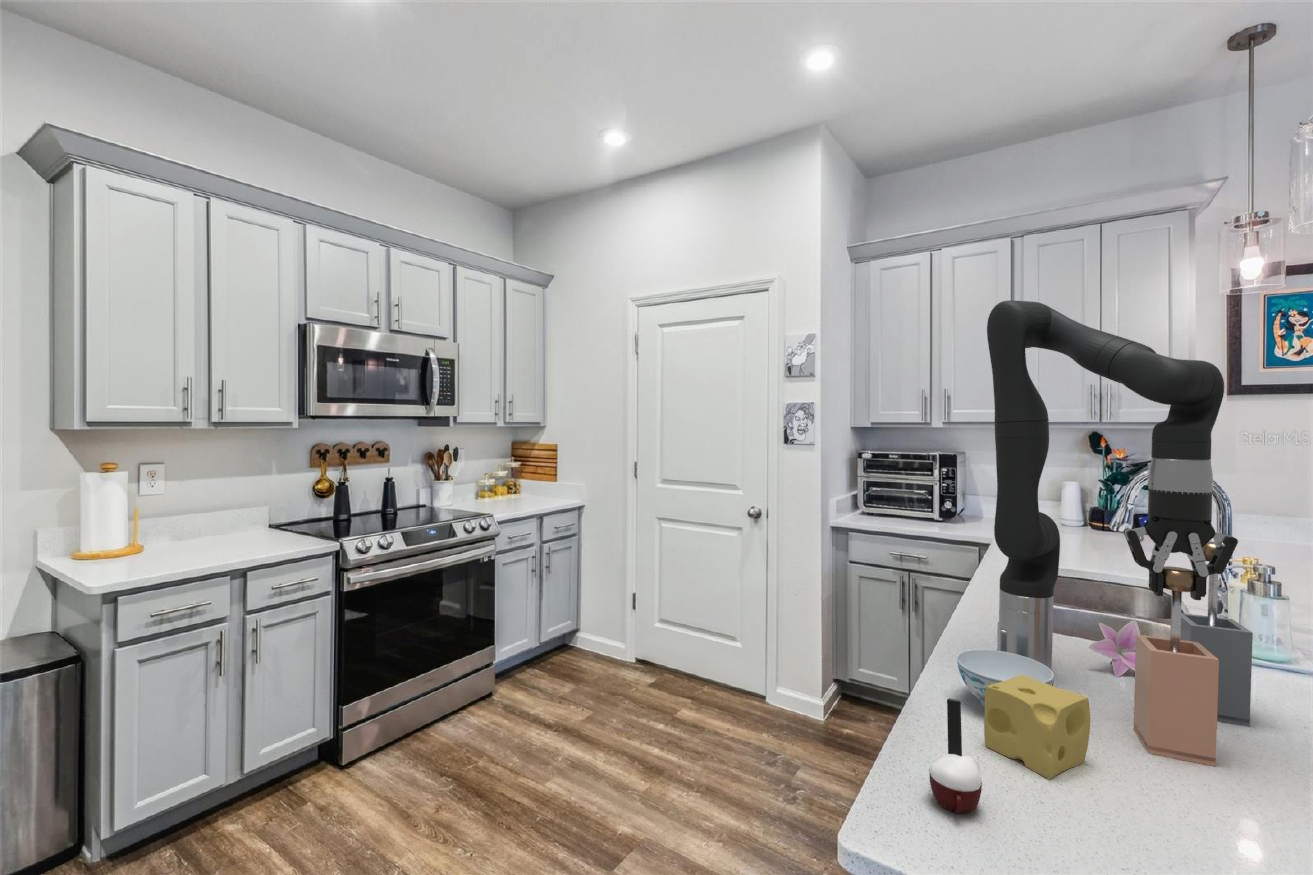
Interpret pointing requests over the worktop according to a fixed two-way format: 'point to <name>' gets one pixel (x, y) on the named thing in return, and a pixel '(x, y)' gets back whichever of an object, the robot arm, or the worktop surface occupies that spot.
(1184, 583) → the bronze knob plunger
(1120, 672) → the lily
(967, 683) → the chinaware
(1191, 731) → the press terracotta
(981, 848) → the worktop surface
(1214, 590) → the tall bronze-capped rod
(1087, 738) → the cheese
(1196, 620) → the grey square holder
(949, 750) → the rounded three-tone fixture
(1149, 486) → the robot arm
